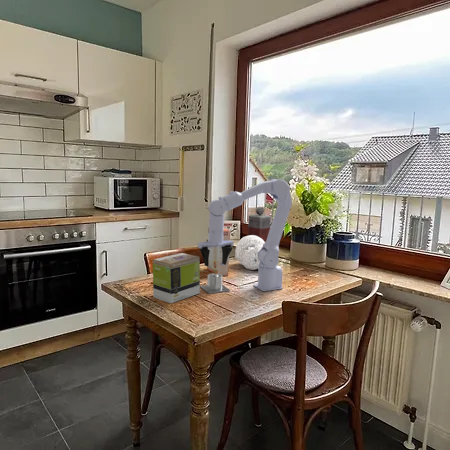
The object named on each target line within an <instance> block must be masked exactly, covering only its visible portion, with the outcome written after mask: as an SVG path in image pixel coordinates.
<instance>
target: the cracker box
mask: <svg viewBox="0 0 450 450" xmlns="http://www.w3.org/2000/svg"><path fill="white" fill-rule="evenodd" d="M207 228H208V229H207V241H209V226H208V227H207ZM223 241H231V230H229V229H226V228H224V233H223ZM212 246H214V245H212ZM208 250H210V253H209V265H208V266H206V269H207V270H208V271H209V272H210V273H211V274H214V273H216V274H221V275H223V277H225V276H229V269H230V267H229V264H230V263H229V262H230V255H229V256H228V259H227V262H226V265H224V264H222V248H221V247H208Z"/></svg>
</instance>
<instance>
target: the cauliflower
mask: <svg viewBox="0 0 450 450" xmlns="http://www.w3.org/2000/svg"><path fill="white" fill-rule="evenodd" d="M264 243H265V242H264V241H263V239H261V238H259V237H258V236H254V235H249V236H248V235H246V236H243V237H242V238H241V239H239V241H238V242H237V243H236V246H235V251H234V252H235V256H234V258H235V259H236V260H237V261H238V263H239V264H240V265H241V266H243V267H244V268H245V269H246V270H251V271H256V270H258V268H259V263H260V261H259V259H258V252H259V251H260V250H261V248H262V246H263V244H264Z"/></svg>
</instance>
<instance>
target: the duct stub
mask: <svg viewBox="0 0 450 450" xmlns="http://www.w3.org/2000/svg"><path fill="white" fill-rule="evenodd" d="M212 277H218V275H212ZM200 289H202V290H203V291H205V293H207V294H209V295H210V294H218V293H225V292H227V293H228V292H230V291H231V289H230V288H228V287H227V286H225V285H224V284H222V289H220V290H210V289H208V288H207V284H202V285H201V284H200Z"/></svg>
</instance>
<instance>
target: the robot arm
mask: <svg viewBox="0 0 450 450" xmlns="http://www.w3.org/2000/svg"><path fill="white" fill-rule="evenodd" d="M261 194H269V195H270V196H272V197H273V199H274V200H275V202H276V203H277V206H276V209H275V212H274V216H273V219H272V221H271V227H270V231H269V234H268V237H267V240H266V242H265V243H264V244H263V246H262V248H261V250H260V251H259V252H258V259H259V261H260V263H259V268H258V269H257V270H258V273H257V283H254V284H253V287H255V288H256V289H259V290H260V291H262V292H269V291H274V290H282V289H283V269H282V267H281V266H279V265H278V264H279V254H280V247H279V246H280V243H281V242H280V241H281V239H282V236H283V233H284V230H285V226H286V223H287V221H288V218H289V213H290V211H291V209H292V204H293V200H292V195H291V187H290V185H289V183H288V182H287V181H286V180H285V179H282V178H279V179H276V178H272V179H269V180H266V181H262V182H260V183H257V184H255V185H254V186H252V187H249V188H248V189H245V190H244V191H242V192H239V191H236V190H235V191H233V190H231V191H229V194H226V195H224V196H219V197H218V199H214V200H211V201H210V203H209V204H208V206H207V207H208V208H207V209H208V211H209V218H208V227H209V241H208V240H207V241H200V242H197V248H198V249H199V251H200V254H201V257H202V258H203V262H204V266H206V267H207V266H208V265H209V253H210V250H208V247H221V248H222V264H224V265H226V262H227V259H228V256H229V257H230V254H231V252H232V250H233V247H234V240H230V241H223V233H224V227H225V225H224V224H225V220H224V214H225V213H226V212H229V211H230V210H231V211H232V210H233V209H235V208H237V207H240V206H242V205H243V203H244V201H245V200H249V199H251V198H253V197H255V196H258V195H261ZM212 245H214V246H212Z"/></svg>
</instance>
